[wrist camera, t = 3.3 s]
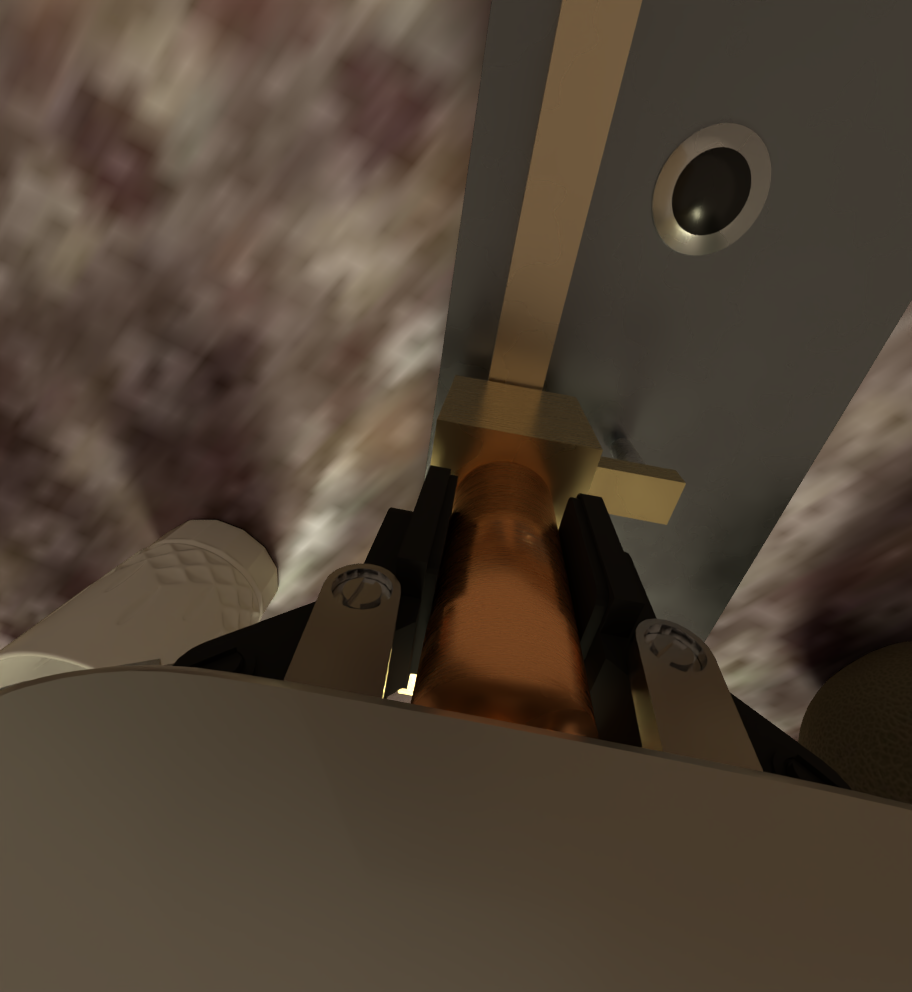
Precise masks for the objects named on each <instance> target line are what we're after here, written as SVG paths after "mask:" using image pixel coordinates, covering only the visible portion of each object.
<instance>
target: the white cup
mask: <svg viewBox="0 0 912 992" xmlns="http://www.w3.org/2000/svg"><path fill="white" fill-rule="evenodd" d="M277 590H278V578H277V568H276V566H275V564H274V563H273V561H272V559H271V557H270V556H269V554H268V552H267V550H266V549H265V547H264V546H262V545H261V544H260V543H259V542H258V541H256V540H255V539H254V538H253V537H251V536H250V535H249V534H248V533H247V532H245V531H244V530H242V529H240V528H237V527H235V526H232V525H229V524H227V523H224V522H221V521H219V520H189V521H187V522H185V523H184V524H182V525H180V526H178V527H176V528H174V529H173V530H171V531H169V532H168V533H167V534H165V535H164V536H162V537H161V538H160V539H158V540H157V541H156V542H154V543H153V544H152V545H150V546H149V547H148V548H144V549H142V550H140V551H139V552H137V553H136V554H134V555H133V556H131V557H130V558H129V559H127V560H126V561H125V562H123V563H122V564H120V565H118V566H117V567H116V568H114V569H113V570H111V571H110V572H108V573H107V574H106V575H104V576H103V577H102V578H100V579H99V580H98V581H96V582H95V583H93V584H91V585H89V586H88V587H87V588H85V589H84V590H82V591H81V592H80V593H78V594H77V595H76V596H74V597H73V598H71V599H70V600H69V601H67V602H66V603H65V604H63V605H62V606H60V607H59V608H58V609H56V610H55V611H54V612H52V613H51V614H49V615H48V616H47V617H45V618H44V619H43V620H41V621H40V622H39V623H37V624H36V625H34V626H33V627H32V628H30V629H29V630H28V631H26V632H25V633H23V634H22V635H21V636H19V637H18V638H16V639H15V640H14V641H12V642H11V643H10V644H8V645H7V646H5V647H4V648H3V649H1V650H0V688H2V687H5V686H9V685H13V684H16V683H20V682H23V681H29V680H33V679H37V678H41V677H45V676H50V675H55V674H60V673H64V672H71V671H79V670H87V669H94V668H102V667H110V666H119V665H125V664H130V663H136V662H142V661H148V660H154V659H161V664H162V665H167V664H173V663H175V662H176V661H177V659H178V658H179V657H181V656H182V655H183V654H185V653H186V652H187V651H189V650H190V649H191V648H193V647H196V646H198V645H200V644H202V643H204V642H206V641H209V640H212V639H214V638H217V637H220V636H223V635H225V634H228V633H231V632H234V631H236V630H239V629H242V628H245V627H247V626H250V625H253V624H256V623H258V622H259V621H260V619H261V617H262V615H263V613H264V612H265V610H266V609H267V607H268V605H269V604H270V602H271V600H272V599H273V597H274V596H275V594H276V592H277Z"/></svg>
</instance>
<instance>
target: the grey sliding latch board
mask: <svg viewBox="0 0 912 992" xmlns="http://www.w3.org/2000/svg"><path fill="white" fill-rule="evenodd" d="M911 300H912V0H492V3H491V10H490V18H489V25H488V32H487V39H486V46H485V53H484V60H483V67H482V75H481V82H480V89H479V96H478V103H477V110H476V117H475V124H474V131H473V139H472V146H471V153H470V160H469V167H468V174H467V181H466V188H465V196H464V203H463V210H462V217H461V224H460V231H459V238H458V245H457V253H456V260H455V267H454V274H453V281H452V288H451V295H450V302H449V310H448V317H447V324H446V331H445V338H444V345H443V352H442V359H441V366H440V374H439V381H438V388H437V395H436V402H435V409H434V416H433V423H432V431H431V438H430V445H429V452H428V459H427V466H426V473H425V478H426V475H427V473H428V470H429V467H430V465H431V458H432V451H433V444H434V437H435V430H436V423H437V418H438V416H439V413H440V411H441V409H442V406H443V404H444V401H445V399H446V397H447V394H448V392H449V389H450V387H451V385H452V382H453V380H454V377H455V375H460V376H465V377H470V378H476V379H481V380H487V381H492V382H497V383H503V384H508V385H514V386H519V387H524V388H530V389H535V390H541V391H546V392H551V393H557V394H562V395H568V396H573V397H576V398H577V400H578V402H579V404H580V406H581V408H582V410H583V412H584V414H585V416H586V418H587V420H588V422H589V424H590V425H591V427H592V429H593V431H594V433H595V435H596V437H597V439H598V441H599V443H600V445H601V447H602V449H603V452H602V455H601V456H602V457H607V458H613V457H612V455H611V453H610V446H611V444H612V443H613V442H614V441H615V440H617V439H620V438H625V439H628V440H629V441H630V442H631V443H632V445H633V446H634V448H635V449H636V451H637V452H638V454H639V455H640V457H641V458H642V460H643V461H644V463H645V464H646V465H650V466H656V467H661V468H667V469H672V470H676V471H677V473H678V474H679V475H680V476H681V478H682V479H683V480H684V481H685V483H686V485H685V487H684V489H683V491H682V493H681V496H680V498H679V500H678V502H677V504H676V506H675V508H674V511H673V513H672V515H671V517H670V519H669V521H668V524H667V525H665V524H660V523H654V522H649V521H644V520H638V519H633V518H628V517H622V516H617V515H612V514H609V516H610V518H611V521H612V523H613V526H614V528H615V531H616V533H617V535H618V538H619V540H620V543H621V545H622V548H623V550H624V551H625V552H627V553H629V555H630V556H631V558H632V561H633V563H634V565H635V568H636V570H637V573H638V575H639V577H640V580H641V582H642V584H643V587H644V589H645V592H646V594H647V596H648V599H649V601H650V604H651V606H652V608H653V611H654V613H655V615H656V618H657V619H663V620H668V621H671V622H673V623H676V624H679V625H681V626H683V627H684V628H686V629H688V630H690V631H691V632H693V633H694V634H695V635H697V636H698V637H699V638H700V639H701V640H702V641H703V642H705V640H706V639H707V637H708V635H709V634H710V632H711V630H712V629H713V627H714V625H715V624H716V622H717V620H718V619H719V617H720V615H721V614H722V612H723V610H724V609H725V607H726V606H727V604H728V602H729V601H730V599H731V597H732V596H733V594H734V592H735V591H736V589H737V587H738V586H739V584H740V582H741V581H742V579H743V577H744V576H745V574H746V572H747V571H748V569H749V568H750V566H751V564H752V563H753V561H754V559H755V558H756V556H757V554H758V553H759V551H760V549H761V548H762V546H763V544H764V543H765V541H766V539H767V538H768V536H769V535H770V533H771V531H772V530H773V528H774V526H775V525H776V523H777V521H778V520H779V518H780V516H781V515H782V513H783V511H784V510H785V508H786V506H787V505H788V503H789V501H790V500H791V498H792V497H793V495H794V493H795V492H796V490H797V488H798V487H799V485H800V483H801V482H802V480H803V478H804V477H805V475H806V473H807V472H808V470H809V468H810V467H811V465H812V464H813V462H814V460H815V459H816V457H817V455H818V454H819V452H820V450H821V449H822V447H823V445H824V444H825V442H826V440H827V439H828V437H829V435H830V434H831V432H832V431H833V429H834V427H835V426H836V424H837V422H838V421H839V419H840V417H841V416H842V414H843V412H844V411H845V409H846V407H847V406H848V404H849V402H850V401H851V399H852V397H853V396H854V394H855V393H856V391H857V389H858V388H859V386H860V384H861V383H862V381H863V379H864V378H865V376H866V374H867V373H868V371H869V369H870V368H871V366H872V364H873V363H874V361H875V360H876V358H877V356H878V355H879V353H880V351H881V350H882V348H883V346H884V345H885V343H886V341H887V340H888V338H889V336H890V335H891V333H892V331H893V330H894V328H895V327H896V325H897V323H898V322H899V320H900V318H901V317H902V315H903V313H904V312H905V310H906V308H907V307H908V305H909V303H910V302H911ZM424 481H425V480H424ZM416 676H417V675H416V674H410V678H409V683H408V687H407V689H403V688H402V689H400V690H398V693H402V694H407V695H413V690H414V685H415V681H416Z"/></svg>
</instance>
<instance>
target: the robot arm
mask: <svg viewBox="0 0 912 992" xmlns="http://www.w3.org/2000/svg"><path fill="white" fill-rule="evenodd" d="M450 474H451V469H449V468H443V467H438V466H433V465H430V467H429V470H428V473H427V475H426V478H425V481H424V484H423V487H422V489H421V492H420V495H419V498H418V501H417V503H416V506H415V509H414V512H412V511H407V510H401V509H396V508H389V510H388V512H387V514H386V516H385V519H384V521H383V523H382V525H381V527H380V529H379V532H378V534H377V536H376V538H375V540H374V543H373V545H372V547H371V549H370V551H369V553H368V556H367V558H366V560H365V562H364V564H359V563H358V564H352V565H347V566H344V567H342V568H339V569H337V570H335V571H334V572H333V573H331V574H330V575H329V576H328V577H327V579H326V580H325V582H324V584H323V586H322V588H321V591H320V593H319V596H318V598H317V600H316V602H313V603H310V604H308V605H305V606H302V607H299V608H297V609H294V610H291V611H288V612H286V613H283V614H280V615H277V616H275V617H272V618H269V619H266V620H264V621H261V622H258V623H256V624H253V625H250V626H247V627H245V628H242V629H239V630H236V631H234V632H231V633H228V634H225V635H223V636H220V637H217V638H214V639H212V640H209V641H206V642H204V643H202V644H200V645H198V646H196V647H193V648H191V649H190V650H189V651H187V652H186V653H185V654H183V655H182V656H181V657H179V658H178V659H177V661H176V662H175V663H173V664H167V665H162V664H161V659H154V660H148V661H142V662H136V663H130V664H125V665H119V666H110V667H102V668H94V669H87V670H79V671H71V672H64V673H60V674H55V675H50V676H45V677H41V678H37V679H33V680H29V681H23V682H20V683H16V684H13V685H9V686H5V687H2V688H0V992H912V805H911V804H907V803H903V802H899V801H894V800H890V799H886V798H882V797H877V796H874V795H870V794H866V793H861V792H857V791H852V789H851V788H850V786H849V785H848V784H847V783H846V782H845V781H844V780H843V779H842V778H841V776H840V775H839V774H838V773H837V772H836V771H835V770H833V769H832V768H831V767H830V766H829V765H827V764H826V763H825V762H824V761H823V760H821V759H820V758H819V757H817V756H816V755H815V754H813V753H812V752H810V751H809V750H808V749H806V748H805V747H804V746H802V745H801V744H800V743H798V742H797V741H795V740H794V739H793V738H791V737H790V736H789V735H787V734H786V733H784V732H783V731H782V730H780V729H779V728H778V727H776V726H775V725H774V724H772V723H771V722H769V721H768V720H767V719H765V718H764V717H763V716H761V715H760V714H759V713H757V712H756V711H754V710H753V709H752V708H750V707H749V706H748V705H746V704H745V703H744V702H742V701H741V700H739V699H738V698H737V697H735V696H734V695H733V694H731V693H730V692H729V690H728V687H727V685H726V683H725V680H724V678H723V675H722V673H721V671H720V668H719V666H718V664H717V661H716V659H715V657H714V655H713V653H712V652H711V650H710V648H709V647H708V646H707V645H706V644H705V643H704V642H703V641H702V640H701V639H700V638H699V637H698V636H697V635H695V634H694V633H693V632H691V631H690V630H688V629H686V628H684V627H683V626H681V625H679V624H676V623H673V622H671V621H668V620H663V619H657V618H656V615H655V613H654V611H653V608H652V606H651V604H650V601H649V599H648V596H647V594H646V592H645V589H644V587H643V584H642V582H641V580H640V577H639V575H638V573H637V570H636V568H635V565H634V563H633V561H632V558H631V556H630V555H629V553H627V552H625V551H624V550H623V548H622V545H621V543H620V540H619V538H618V535H617V533H616V531H615V528H614V526H613V523H612V521H611V518H610V516H609V513H608V511H607V508H606V506H605V503H604V501H603V499H602V497H598V496H593V495H588V494H582V493H579V494H578V495H577V497H576V498H573V497H570V498H569V499H568V502H567V505H566V508H565V511H564V514H563V517H562V520H561V523H560V526H559V529H558V532H559V537H560V542H561V547H562V552H563V557H564V563H565V568H566V573H567V578H568V583H569V588H570V593H571V599H572V604H573V609H574V614H575V619H576V624H577V629H578V634H579V640H580V645H581V650H582V655H583V660H584V665H585V670H586V675H587V681H588V686H589V691H590V696H591V701H592V706H593V711H594V717H595V722H596V727H597V732H598V739H594V738H589V737H584V736H579V735H574V734H568V733H563V732H558V731H553V730H548V729H542V728H537V727H532V726H527V725H521V724H516V723H511V722H506V721H500V720H495V719H490V718H485V717H479V716H474V715H469V714H464V713H458V712H453V711H447V710H442V709H437V708H431V707H426V706H421V705H415V704H410V703H404V702H399V701H394V700H388V699H387V697H388V696H389V695H391V694H393V693H395V692H396V691H398V690H400V689H402V688H403V689H407V687H408V683H409V678H410V674H416V675H417V671H418V666H419V662H420V657H421V652H422V647H423V643H424V638H425V633H426V628H427V625H428V621H429V619H430V615H431V610H432V605H433V601H434V596H435V591H436V586H437V581H438V576H439V572H440V567H441V562H442V557H443V552H444V547H445V543H446V538H447V533H448V528H449V523H450V518H451V513H452V508H453V502H454V497H455V491H456V486H457V480H458V476H456V475H450Z"/></svg>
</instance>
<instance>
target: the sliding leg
mask: <svg viewBox="0 0 912 992" xmlns="http://www.w3.org/2000/svg"><path fill="white" fill-rule="evenodd" d="M602 452H603V449H602V447H601V445H600V443H599V441H598V439H597V437H596V435H595V433H594V431H593V429H592V427H591V425H590V424H589V422H588V420H587V418H586V416H585V414H584V412H583V410H582V408H581V406H580V404H579V402H578V400H577V398H576V397H573V396H568V395H562V394H557V393H551V392H546V391H541V390H535V389H530V388H524V387H519V386H514V385H508V384H503V383H497V382H492V381H487V380H481V379H476V378H470V377H465V376H460V375H455V377H454V380H453V382H452V385H451V387H450V389H449V392H448V394H447V397H446V399H445V401H444V404H443V406H442V409H441V411H440V413H439V416H438V418H437V423H436V430H435V437H434V444H433V451H432V458H431V465H433V466H438V467H443V468H449V469H451V474H450V475H456V476H458V480H457V486H456V491H455V497H454V502H453V508H452V513H451V518H450V523H449V528H448V533H447V538H446V543H445V547H444V552H443V557H442V562H441V567H440V572H439V576H438V581H437V586H436V591H435V596H434V601H433V605H432V610H431V615H430V619H429V621H428V625H427V628H426V633H425V638H424V643H423V647H422V652H421V657H420V662H419V666H418V671H417V676H416V681H415V685H414V690H413V695H412V700H411V704H415V705H421V706H426V707H431V708H437V709H442V710H447V711H453V712H458V713H464V714H469V715H474V716H479V717H485V718H490V719H495V720H500V721H506V722H511V723H516V724H521V725H527V726H532V727H537V728H542V729H548V730H553V731H558V732H563V733H568V734H574V735H579V736H584V737H589V738H594V739H598V732H597V727H596V722H595V717H594V711H593V706H592V701H591V696H590V691H589V686H588V681H587V675H586V670H585V665H584V660H583V655H582V650H581V645H580V640H579V634H578V629H577V624H576V619H575V614H574V609H573V604H572V599H571V593H570V588H569V583H568V578H567V573H566V568H565V563H564V557H563V552H562V547H561V542H560V537H559V532H558V529H559V526H560V523H561V520H562V517H563V514H564V511H565V508H566V505H567V502H568V499H569V498H570V497H573V498H576V497H577V495H578V494H579V493H582V494H588V495H593V496H598V497H602V499H603V501H604V503H605V506H606V508H607V511H608V513H609V514H612V515H617V516H622V517H628V518H633V519H638V520H644V521H649V522H654V523H660V524H665V525H667V524H668V521H669V519H670V517H671V515H672V513H673V511H674V508H675V506H676V504H677V502H678V500H679V498H680V496H681V493H682V491H683V489H684V487H685V485H686V483H685V481H684V480H683V479H682V478H681V476H680V475H679V474H678V473H677V471H676V470H672V469H667V468H661V467H656V466H650V465H646V464H645V463H644V461H643V460H642V458H641V457H640V455H639V454H638V452H637V451H636V449H635V448H634V446H633V445H632V443H631V442H630V441H629V440H628V439H625V438H620V439H617V440H615V441H614V442H613V443H612V444H611V446H610V453H611V455H612V457H613V458H607V457H602V456H601V455H602Z"/></svg>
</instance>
